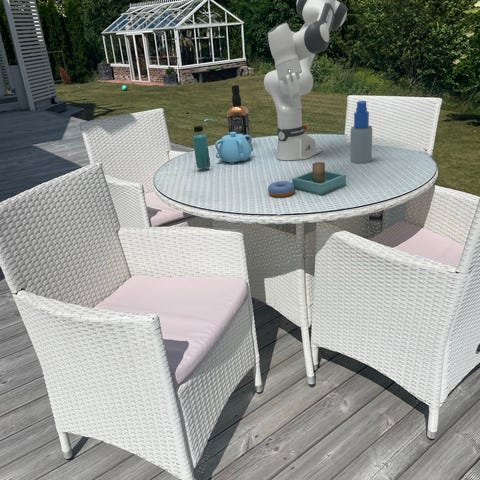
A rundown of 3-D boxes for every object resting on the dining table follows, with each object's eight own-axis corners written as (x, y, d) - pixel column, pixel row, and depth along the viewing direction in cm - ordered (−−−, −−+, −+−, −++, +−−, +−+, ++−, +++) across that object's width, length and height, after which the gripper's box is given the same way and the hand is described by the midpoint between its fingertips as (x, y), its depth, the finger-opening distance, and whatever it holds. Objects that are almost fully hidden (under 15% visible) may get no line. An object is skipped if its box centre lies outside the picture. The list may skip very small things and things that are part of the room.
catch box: (317, 179, 177) (316, 169, 176) (345, 185, 167) (345, 174, 166) (292, 188, 170) (292, 178, 168) (321, 195, 160) (321, 185, 158)
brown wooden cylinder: (313, 182, 171) (313, 162, 167) (325, 182, 169) (325, 161, 166) (312, 186, 167) (311, 165, 163) (324, 186, 165) (324, 165, 162)
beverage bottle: (209, 171, 202) (203, 127, 194) (195, 172, 204) (188, 128, 196) (212, 167, 208) (207, 124, 200) (199, 168, 210) (193, 125, 201)
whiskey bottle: (252, 145, 242) (247, 83, 229) (248, 150, 233) (242, 85, 220) (233, 146, 245) (227, 84, 231) (229, 150, 236) (222, 87, 223)
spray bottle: (351, 158, 200) (352, 100, 190) (372, 157, 197) (373, 99, 187) (349, 163, 193) (349, 103, 182) (370, 163, 190) (372, 102, 179)
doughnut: (262, 195, 165) (263, 183, 163) (276, 188, 173) (276, 177, 171) (286, 201, 160) (287, 189, 158) (299, 193, 168) (300, 182, 166)
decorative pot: (212, 164, 214) (208, 135, 209) (229, 155, 227) (226, 128, 221) (242, 165, 207) (239, 136, 201) (257, 156, 219) (255, 128, 213)
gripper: (297, 64, 151) (308, 105, 154) (297, 71, 171) (307, 107, 174) (279, 70, 153) (291, 110, 155) (281, 77, 172) (291, 112, 175)
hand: (299, 109), depth 165 cm, fingers open, 8 cm apart
